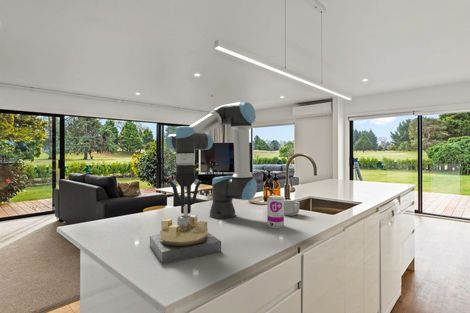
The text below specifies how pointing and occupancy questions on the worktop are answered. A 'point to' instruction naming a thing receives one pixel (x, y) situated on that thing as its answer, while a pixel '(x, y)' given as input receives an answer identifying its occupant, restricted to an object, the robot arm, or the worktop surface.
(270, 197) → the supplement can
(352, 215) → the worktop surface
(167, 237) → the ring nut
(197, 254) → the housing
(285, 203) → the teacup
